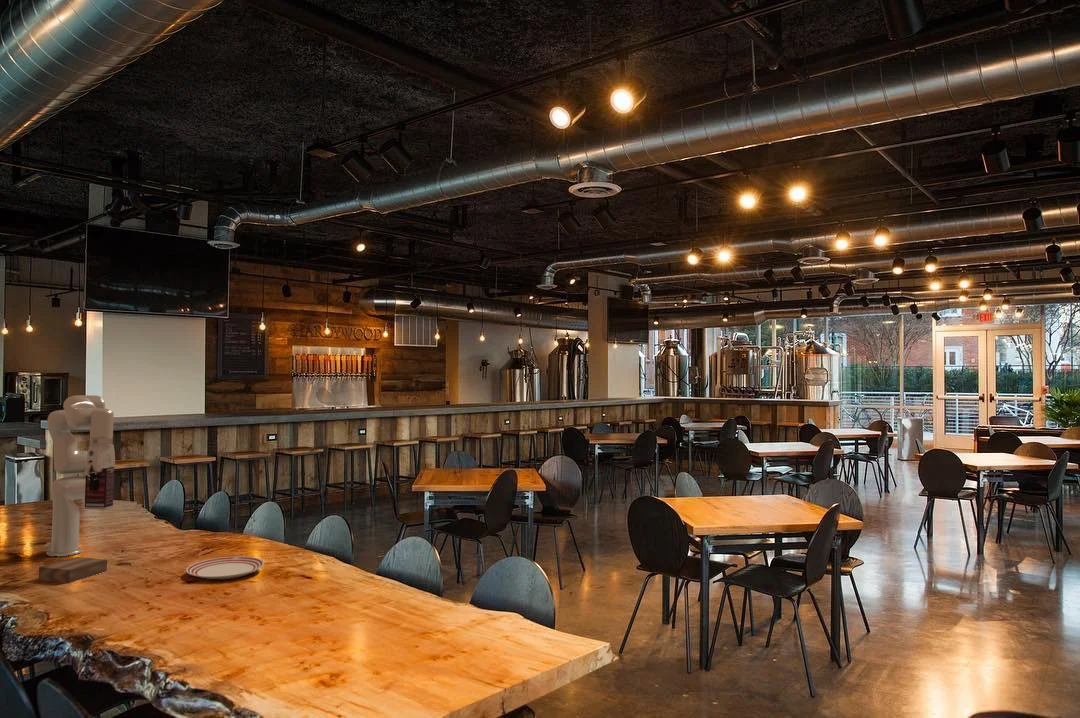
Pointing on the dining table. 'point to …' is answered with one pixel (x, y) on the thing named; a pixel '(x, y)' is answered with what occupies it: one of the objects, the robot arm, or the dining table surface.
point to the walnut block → (72, 569)
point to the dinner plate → (225, 567)
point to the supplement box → (100, 491)
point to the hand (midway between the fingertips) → (99, 488)
